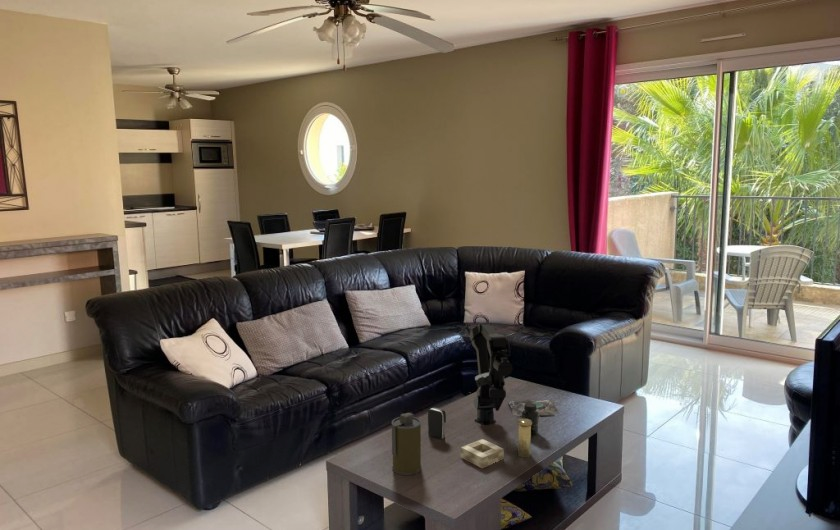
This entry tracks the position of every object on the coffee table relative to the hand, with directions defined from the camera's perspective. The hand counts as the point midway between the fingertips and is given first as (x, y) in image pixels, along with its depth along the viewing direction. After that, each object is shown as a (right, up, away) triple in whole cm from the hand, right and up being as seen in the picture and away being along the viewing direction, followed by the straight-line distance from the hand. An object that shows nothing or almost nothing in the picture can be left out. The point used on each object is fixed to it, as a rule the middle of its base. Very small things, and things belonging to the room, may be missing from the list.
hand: (496, 406), depth 240 cm
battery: (-23, -13, +4) cm, 27 cm away
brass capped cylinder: (+9, -15, -13) cm, 22 cm away
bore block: (-7, -16, -16) cm, 23 cm away
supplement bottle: (+14, -12, +6) cm, 20 cm away
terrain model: (+20, -9, +30) cm, 37 cm away
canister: (-35, -17, -23) cm, 45 cm away
